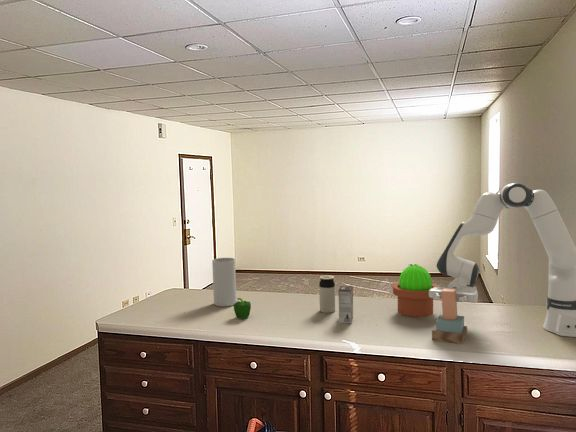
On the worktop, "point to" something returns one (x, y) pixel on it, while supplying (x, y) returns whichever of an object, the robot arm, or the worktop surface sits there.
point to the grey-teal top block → (450, 324)
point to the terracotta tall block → (449, 304)
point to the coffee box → (345, 304)
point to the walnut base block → (449, 336)
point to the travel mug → (327, 294)
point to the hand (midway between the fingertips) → (449, 299)
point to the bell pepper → (242, 309)
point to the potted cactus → (414, 292)
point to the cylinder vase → (224, 281)
